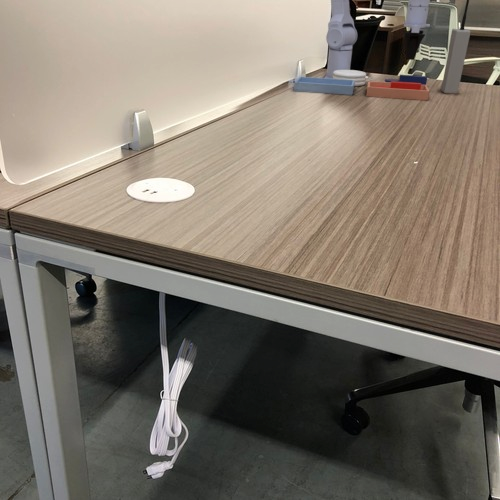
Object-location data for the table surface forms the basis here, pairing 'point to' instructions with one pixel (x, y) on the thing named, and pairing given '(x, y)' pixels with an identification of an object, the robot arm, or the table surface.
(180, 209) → the table surface
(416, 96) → the red bin
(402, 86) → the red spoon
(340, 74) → the coaster
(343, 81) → the blue bin
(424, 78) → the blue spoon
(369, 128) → the table surface
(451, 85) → the vintage mobile phone
